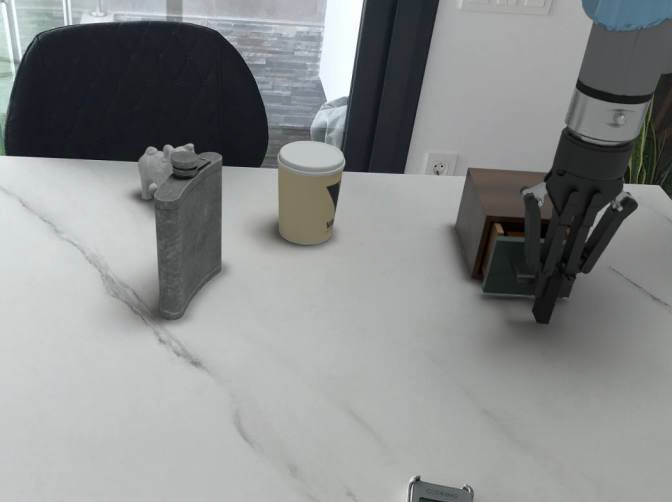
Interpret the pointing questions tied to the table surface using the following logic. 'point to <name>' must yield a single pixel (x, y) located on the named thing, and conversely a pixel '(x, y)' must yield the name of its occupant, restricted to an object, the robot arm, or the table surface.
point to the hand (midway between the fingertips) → (540, 317)
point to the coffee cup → (308, 190)
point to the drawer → (511, 260)
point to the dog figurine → (157, 166)
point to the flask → (188, 229)
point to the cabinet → (493, 208)
